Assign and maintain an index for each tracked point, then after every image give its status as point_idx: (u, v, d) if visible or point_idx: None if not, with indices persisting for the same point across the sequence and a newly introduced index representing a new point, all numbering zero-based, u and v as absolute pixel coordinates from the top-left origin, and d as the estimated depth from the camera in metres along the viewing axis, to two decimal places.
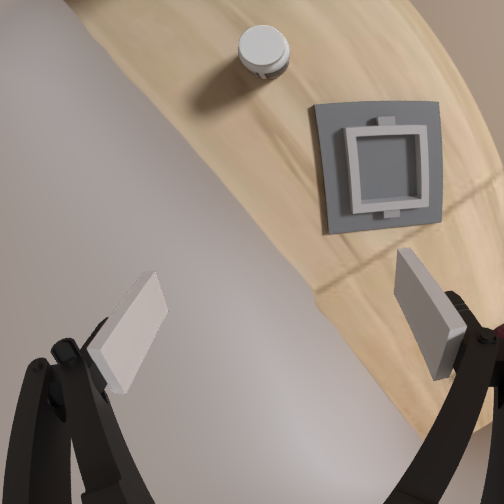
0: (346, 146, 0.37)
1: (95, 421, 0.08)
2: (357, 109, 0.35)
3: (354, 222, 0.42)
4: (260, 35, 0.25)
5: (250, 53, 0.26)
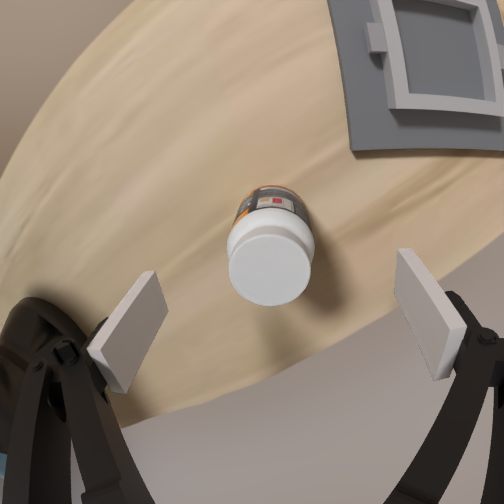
0: None
1: (95, 421, 0.08)
2: (357, 81, 0.20)
3: None
4: (251, 274, 0.17)
5: (286, 291, 0.18)
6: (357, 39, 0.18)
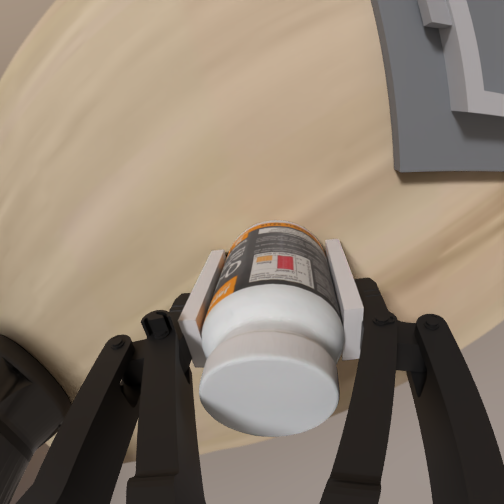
0: None
1: (169, 405, 0.08)
2: (409, 65, 0.12)
3: None
4: (237, 404, 0.09)
5: (294, 423, 0.10)
6: (405, 5, 0.10)
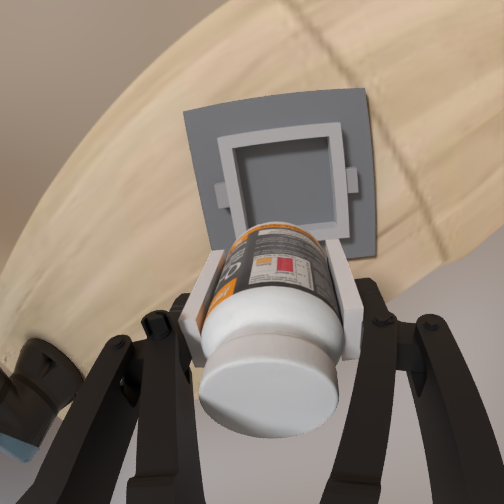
0: None
1: (170, 405, 0.08)
2: (215, 225, 0.33)
3: (363, 224, 0.31)
4: (237, 406, 0.09)
5: (294, 425, 0.10)
6: (214, 193, 0.31)
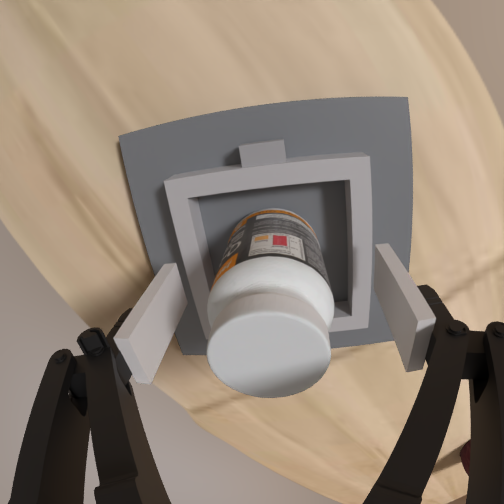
0: None
1: (117, 414, 0.08)
2: (202, 132, 0.17)
3: None
4: (240, 363, 0.11)
5: (292, 381, 0.11)
6: (263, 131, 0.17)
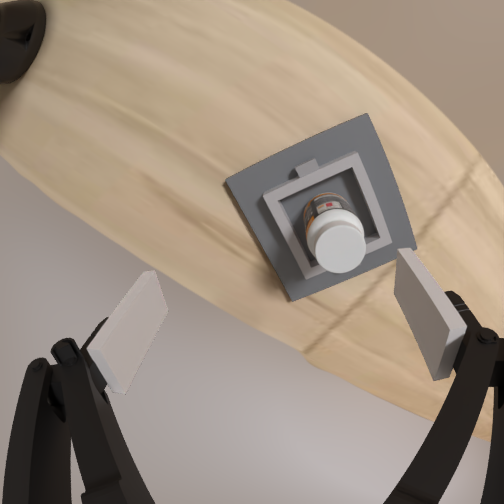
0: None
1: (95, 421, 0.08)
2: (272, 166, 0.34)
3: (314, 283, 0.39)
4: (330, 254, 0.27)
5: (354, 258, 0.26)
6: (302, 156, 0.33)
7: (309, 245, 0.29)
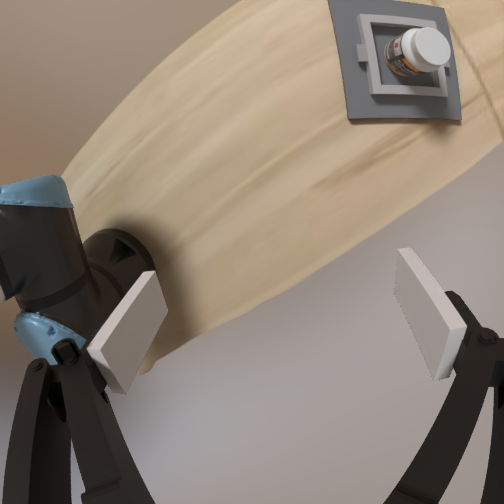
0: None
1: (95, 421, 0.08)
2: (351, 78, 0.34)
3: (452, 94, 0.32)
4: (435, 54, 0.23)
5: (441, 40, 0.22)
6: (351, 54, 0.33)
7: (424, 69, 0.26)
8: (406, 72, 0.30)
